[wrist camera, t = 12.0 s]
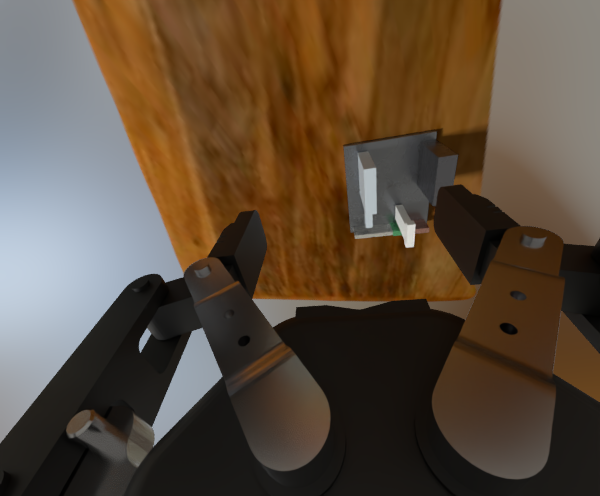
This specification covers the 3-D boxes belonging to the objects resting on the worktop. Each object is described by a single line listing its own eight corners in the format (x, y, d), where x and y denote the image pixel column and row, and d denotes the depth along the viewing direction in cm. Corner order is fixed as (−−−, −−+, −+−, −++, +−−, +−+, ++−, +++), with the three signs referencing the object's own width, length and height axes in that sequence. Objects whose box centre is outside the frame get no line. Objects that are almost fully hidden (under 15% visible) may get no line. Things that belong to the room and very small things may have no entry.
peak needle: (395, 222, 41) (406, 247, 35) (395, 201, 39) (407, 225, 33) (401, 221, 41) (413, 246, 35) (402, 200, 39) (415, 224, 33)
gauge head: (361, 219, 41) (366, 243, 36) (357, 152, 35) (363, 169, 30) (370, 218, 41) (377, 242, 35) (368, 151, 35) (376, 167, 30)
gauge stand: (350, 229, 44) (354, 257, 38) (343, 145, 36) (347, 162, 30) (424, 221, 42) (442, 249, 36) (434, 129, 34) (459, 145, 28)
